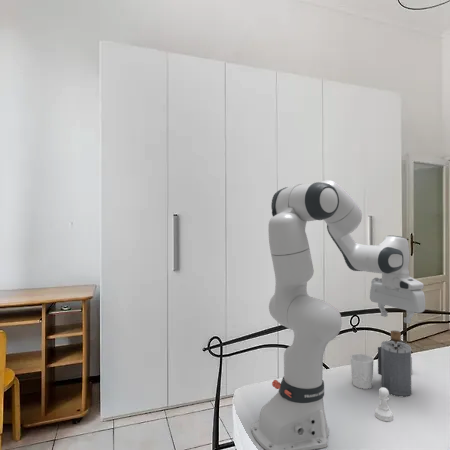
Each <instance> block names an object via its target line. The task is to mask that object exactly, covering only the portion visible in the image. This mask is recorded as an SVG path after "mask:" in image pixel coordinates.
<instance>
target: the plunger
mask: <svg viewBox="0 0 450 450" xmlns="http://www.w3.org/2000/svg"><path fill="white" fill-rule="evenodd" d="M401 337H402V334H401V331H399V330H390V341H394V346H395V347H397V342H400V341H402V338H401Z"/></svg>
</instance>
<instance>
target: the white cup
mask: <svg viewBox="0 0 450 450" xmlns="http://www.w3.org/2000/svg"><path fill="white" fill-rule="evenodd" d="M374 359H375V358H373V357H372V356H370V355H368V354H364V353H363V354H362V353H353V354H351V355H350V369H351V370H350V371H351V381H352V384H353V386H354V387H356V388H359V389H362V388H363V390H368V388H369V389H372V387H373V378H374Z"/></svg>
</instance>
